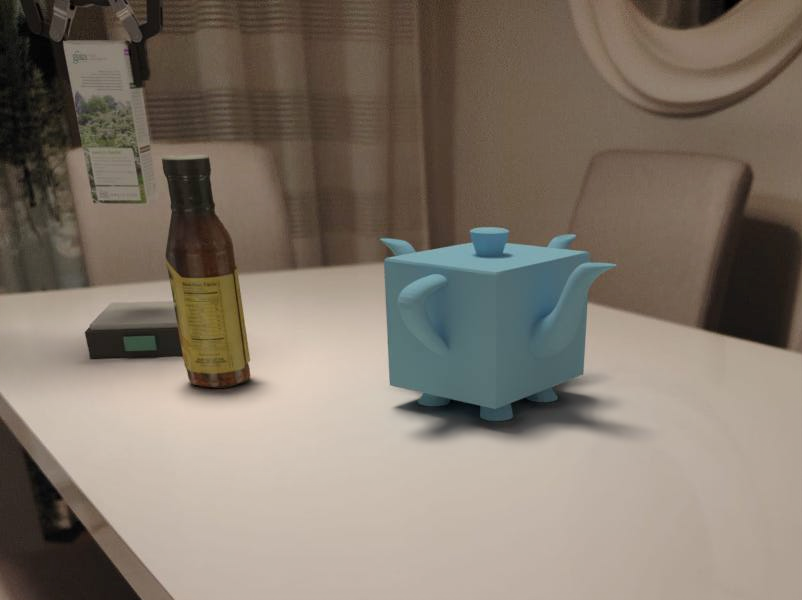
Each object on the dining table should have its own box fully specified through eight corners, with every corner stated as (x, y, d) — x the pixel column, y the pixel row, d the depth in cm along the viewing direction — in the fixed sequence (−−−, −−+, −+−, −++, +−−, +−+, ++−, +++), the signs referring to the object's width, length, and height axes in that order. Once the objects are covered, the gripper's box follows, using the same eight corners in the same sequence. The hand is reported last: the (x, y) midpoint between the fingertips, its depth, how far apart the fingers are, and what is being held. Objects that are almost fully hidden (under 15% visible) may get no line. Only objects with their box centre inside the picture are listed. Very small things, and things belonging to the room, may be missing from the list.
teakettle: (396, 435, 78) (388, 245, 71) (384, 375, 94) (376, 216, 87) (616, 426, 81) (631, 241, 73) (567, 369, 96) (575, 213, 89)
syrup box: (160, 199, 102) (136, 41, 95) (147, 205, 97) (121, 39, 90) (107, 199, 102) (78, 41, 94) (91, 205, 97) (60, 38, 89)
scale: (88, 360, 100) (82, 327, 98) (112, 331, 111) (107, 301, 109) (195, 356, 101) (190, 323, 99) (207, 328, 112) (203, 299, 111)
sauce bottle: (209, 371, 96) (178, 152, 85) (264, 376, 94) (238, 153, 84) (172, 388, 90) (134, 156, 80) (230, 393, 89) (198, 158, 78)
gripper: (158, -116, 90) (185, 87, 98) (-1, -121, 88) (41, 87, 96) (146, -132, 83) (176, 87, 92) (-26, -138, 81) (22, 87, 90)
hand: (107, 86), depth 94 cm, fingers closed on syrup box, 6 cm apart
